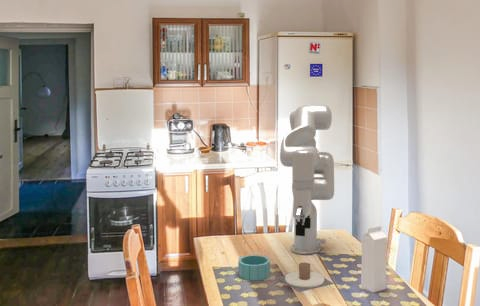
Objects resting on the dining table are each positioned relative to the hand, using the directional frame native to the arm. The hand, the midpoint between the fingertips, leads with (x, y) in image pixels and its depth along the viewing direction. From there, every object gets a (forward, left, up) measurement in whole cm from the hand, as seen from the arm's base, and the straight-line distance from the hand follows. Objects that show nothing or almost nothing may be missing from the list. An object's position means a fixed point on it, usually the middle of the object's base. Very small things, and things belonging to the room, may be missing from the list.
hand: (303, 231), depth 183 cm
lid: (0, 0, -18) cm, 18 cm away
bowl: (+13, -14, -19) cm, 26 cm away
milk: (-17, +17, -19) cm, 31 cm away
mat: (0, 0, -19) cm, 19 cm away
